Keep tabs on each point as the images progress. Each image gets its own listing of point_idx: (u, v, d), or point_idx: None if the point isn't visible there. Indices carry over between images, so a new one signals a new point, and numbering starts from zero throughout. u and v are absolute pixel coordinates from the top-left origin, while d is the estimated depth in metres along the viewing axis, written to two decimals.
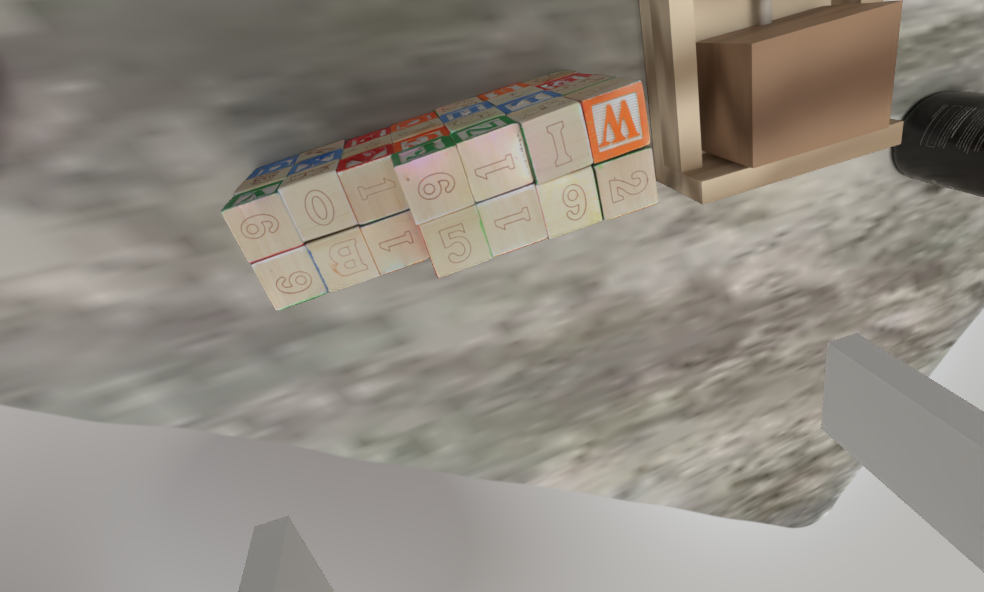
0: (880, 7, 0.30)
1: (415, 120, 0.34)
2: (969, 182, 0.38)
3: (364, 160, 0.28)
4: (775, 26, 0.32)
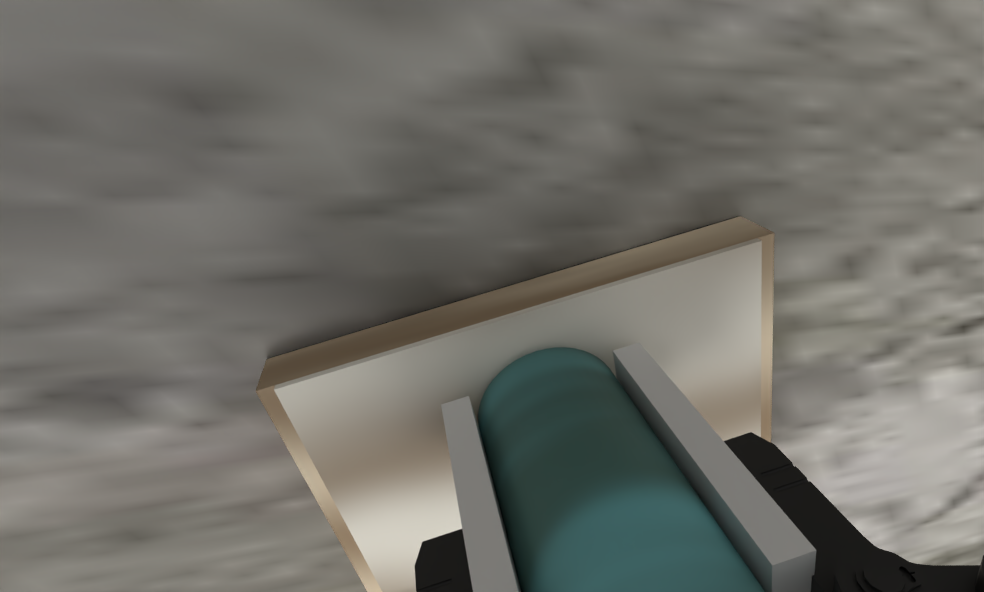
0: None
1: None
2: None
3: None
4: None
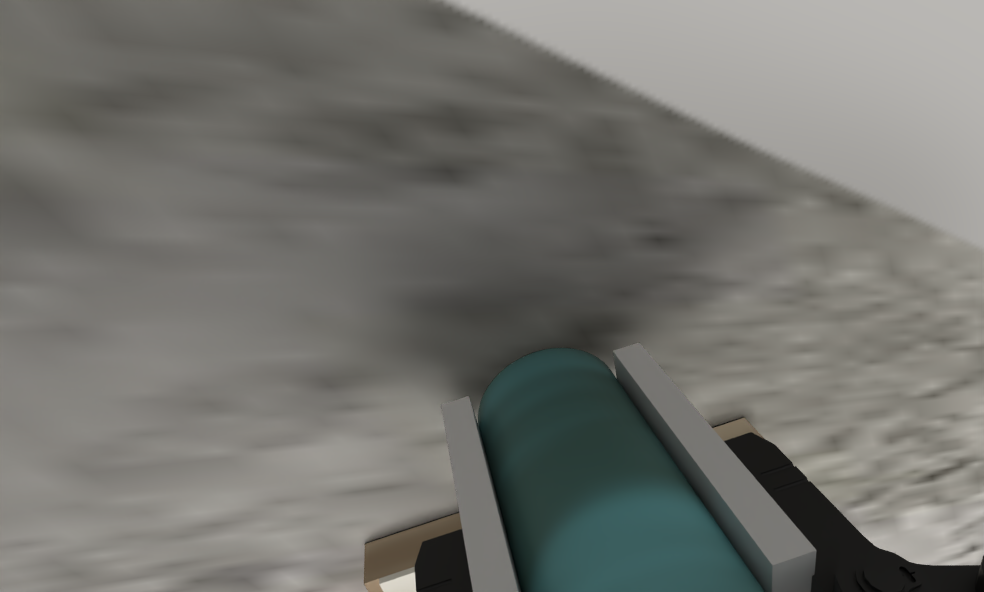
0: None
1: None
2: None
3: None
4: None
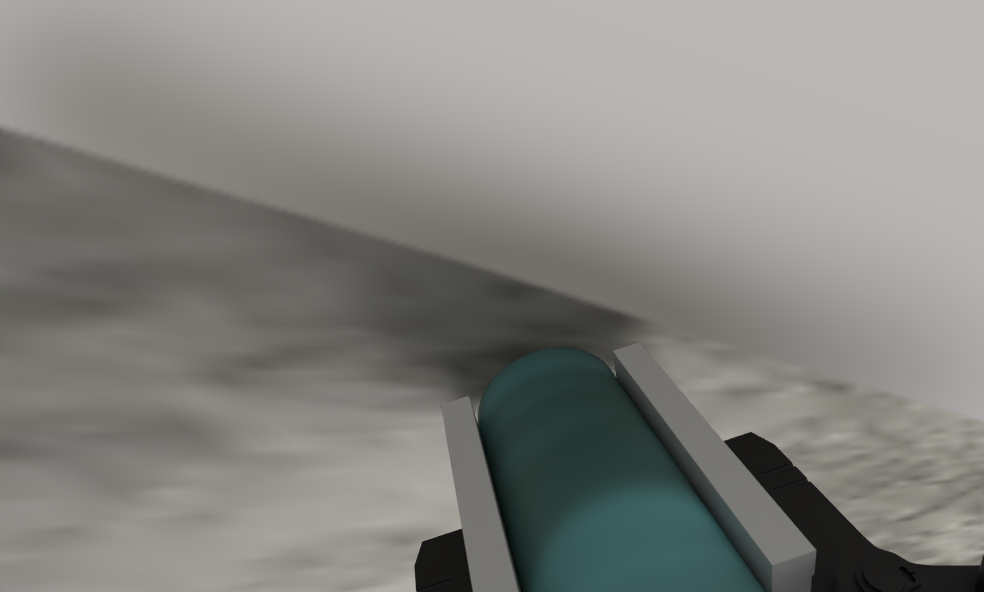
0: None
1: None
2: None
3: None
4: None
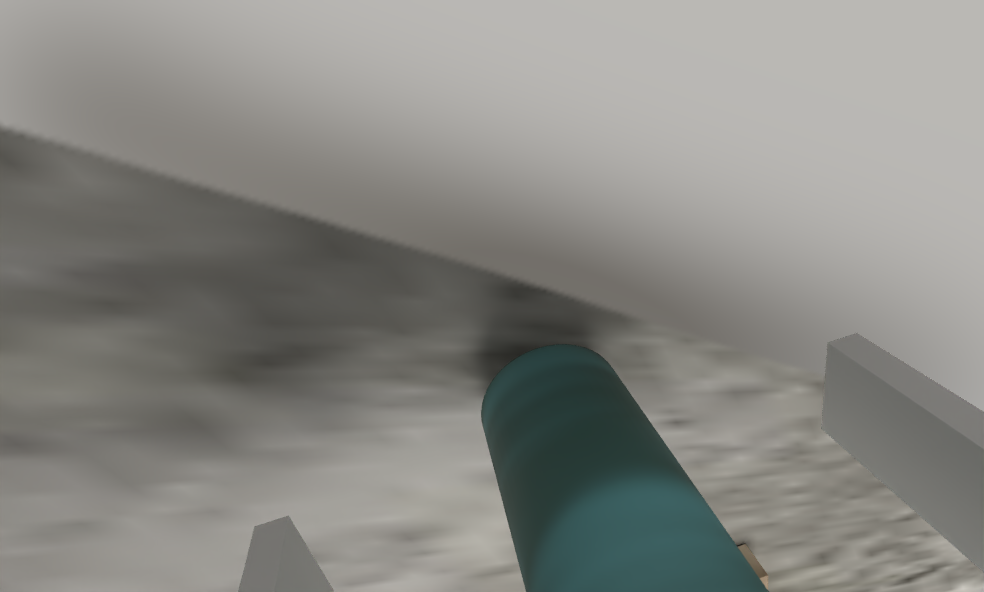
0: None
1: None
2: None
3: None
4: None
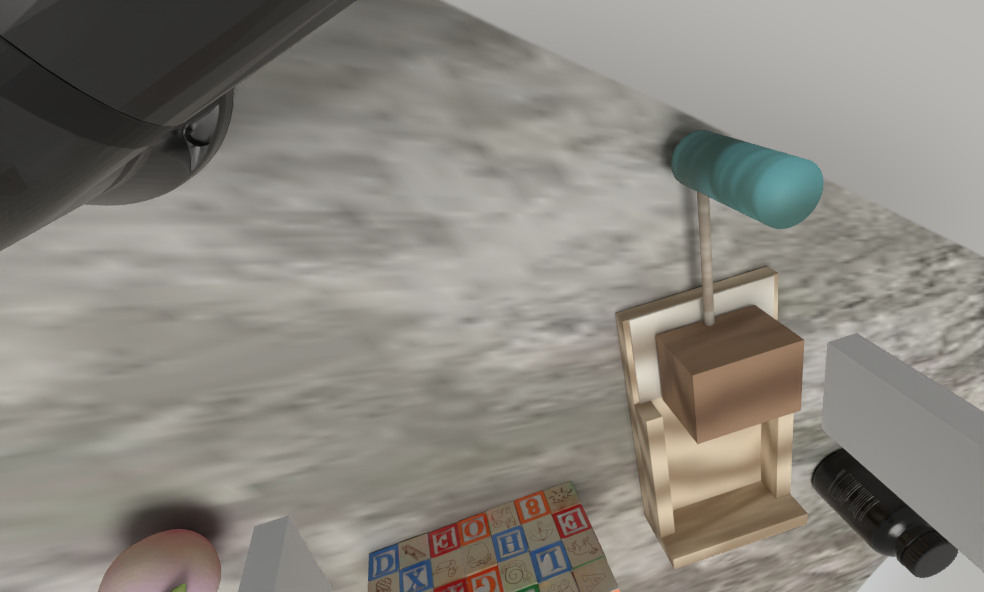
0: (788, 345, 0.40)
1: (474, 522, 0.52)
2: (857, 532, 0.55)
3: None
4: (715, 338, 0.43)
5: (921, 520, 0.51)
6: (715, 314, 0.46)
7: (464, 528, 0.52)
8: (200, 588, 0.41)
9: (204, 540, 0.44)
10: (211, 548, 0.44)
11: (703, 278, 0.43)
